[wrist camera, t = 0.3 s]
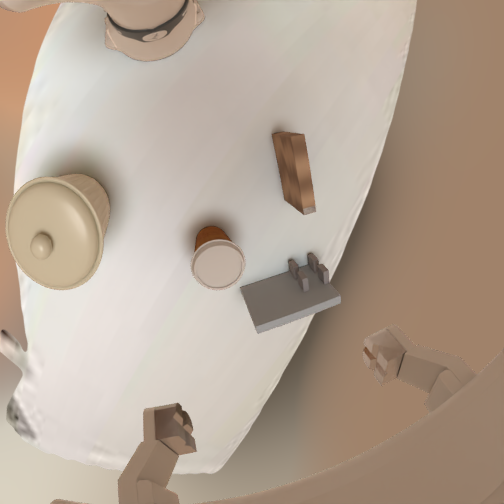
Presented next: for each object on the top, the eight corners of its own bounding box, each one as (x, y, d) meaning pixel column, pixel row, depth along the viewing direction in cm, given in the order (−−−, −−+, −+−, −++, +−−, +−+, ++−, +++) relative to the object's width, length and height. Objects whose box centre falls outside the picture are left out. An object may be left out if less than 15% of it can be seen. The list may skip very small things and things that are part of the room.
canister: (94, 142, 43) (46, 155, 24) (140, 219, 51) (121, 273, 33) (31, 193, 42) (-26, 232, 24) (75, 261, 51) (41, 323, 33)
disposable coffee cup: (243, 234, 58) (258, 260, 48) (216, 268, 60) (225, 300, 50) (205, 209, 54) (212, 232, 44) (179, 247, 56) (180, 277, 46)
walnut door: (271, 134, 50) (290, 136, 42) (289, 130, 51) (311, 132, 42) (284, 199, 57) (304, 215, 48) (301, 195, 58) (322, 209, 49)
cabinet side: (236, 275, 62) (251, 314, 50) (310, 251, 64) (340, 282, 52) (242, 294, 65) (257, 333, 53) (312, 270, 67) (340, 302, 55)
